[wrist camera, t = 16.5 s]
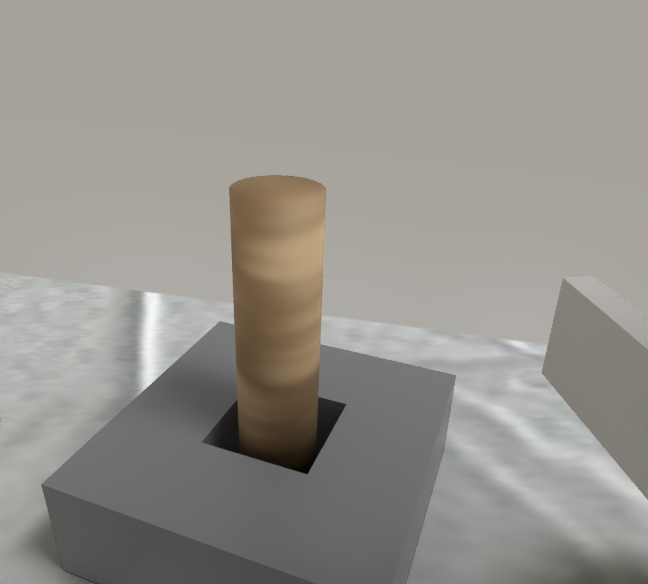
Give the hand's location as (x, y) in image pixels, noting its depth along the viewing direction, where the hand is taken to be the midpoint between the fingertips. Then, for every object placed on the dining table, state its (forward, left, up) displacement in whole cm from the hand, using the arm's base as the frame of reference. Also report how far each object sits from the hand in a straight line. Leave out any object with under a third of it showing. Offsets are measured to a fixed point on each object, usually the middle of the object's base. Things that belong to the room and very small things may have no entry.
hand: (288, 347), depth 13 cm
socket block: (+4, -9, -15) cm, 18 cm away
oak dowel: (+4, -9, -14) cm, 17 cm away
